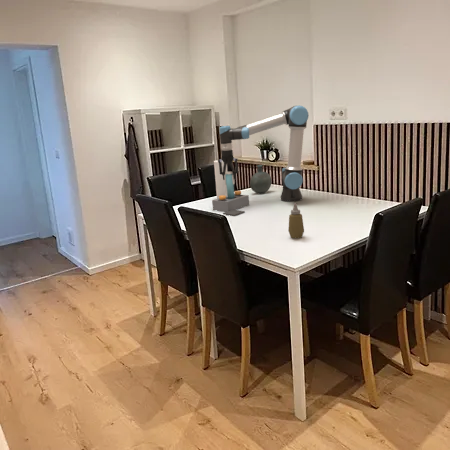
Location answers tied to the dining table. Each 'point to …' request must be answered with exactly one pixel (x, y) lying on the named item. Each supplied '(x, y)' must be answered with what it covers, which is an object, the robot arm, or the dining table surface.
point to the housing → (230, 203)
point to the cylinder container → (220, 180)
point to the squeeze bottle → (295, 223)
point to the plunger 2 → (237, 193)
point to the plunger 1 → (222, 197)
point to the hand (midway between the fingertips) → (229, 184)
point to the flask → (260, 181)
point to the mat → (234, 212)
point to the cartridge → (229, 185)
